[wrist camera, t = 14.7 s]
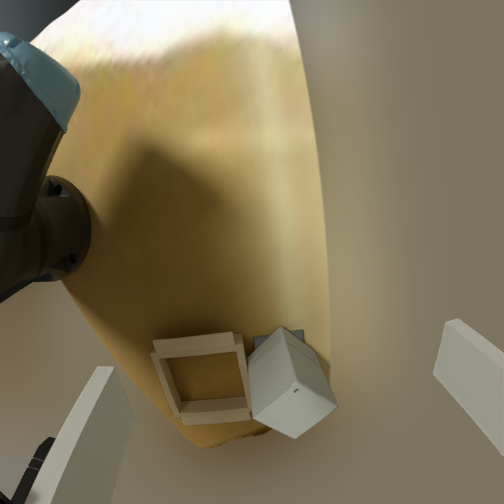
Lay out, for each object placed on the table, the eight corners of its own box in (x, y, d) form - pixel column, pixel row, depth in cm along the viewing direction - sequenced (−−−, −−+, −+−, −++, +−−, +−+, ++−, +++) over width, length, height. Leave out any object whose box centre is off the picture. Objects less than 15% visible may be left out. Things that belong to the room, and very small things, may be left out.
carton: (180, 413, 44) (178, 425, 41) (150, 330, 40) (145, 341, 37) (255, 407, 45) (257, 419, 42) (239, 320, 40) (240, 331, 37)
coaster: (259, 374, 43) (259, 376, 42) (253, 337, 41) (253, 339, 41) (304, 367, 43) (305, 369, 42) (301, 329, 41) (302, 331, 41)
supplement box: (245, 357, 41) (249, 418, 29) (281, 323, 40) (298, 379, 28) (280, 381, 43) (294, 441, 31) (315, 351, 42) (340, 406, 29)
